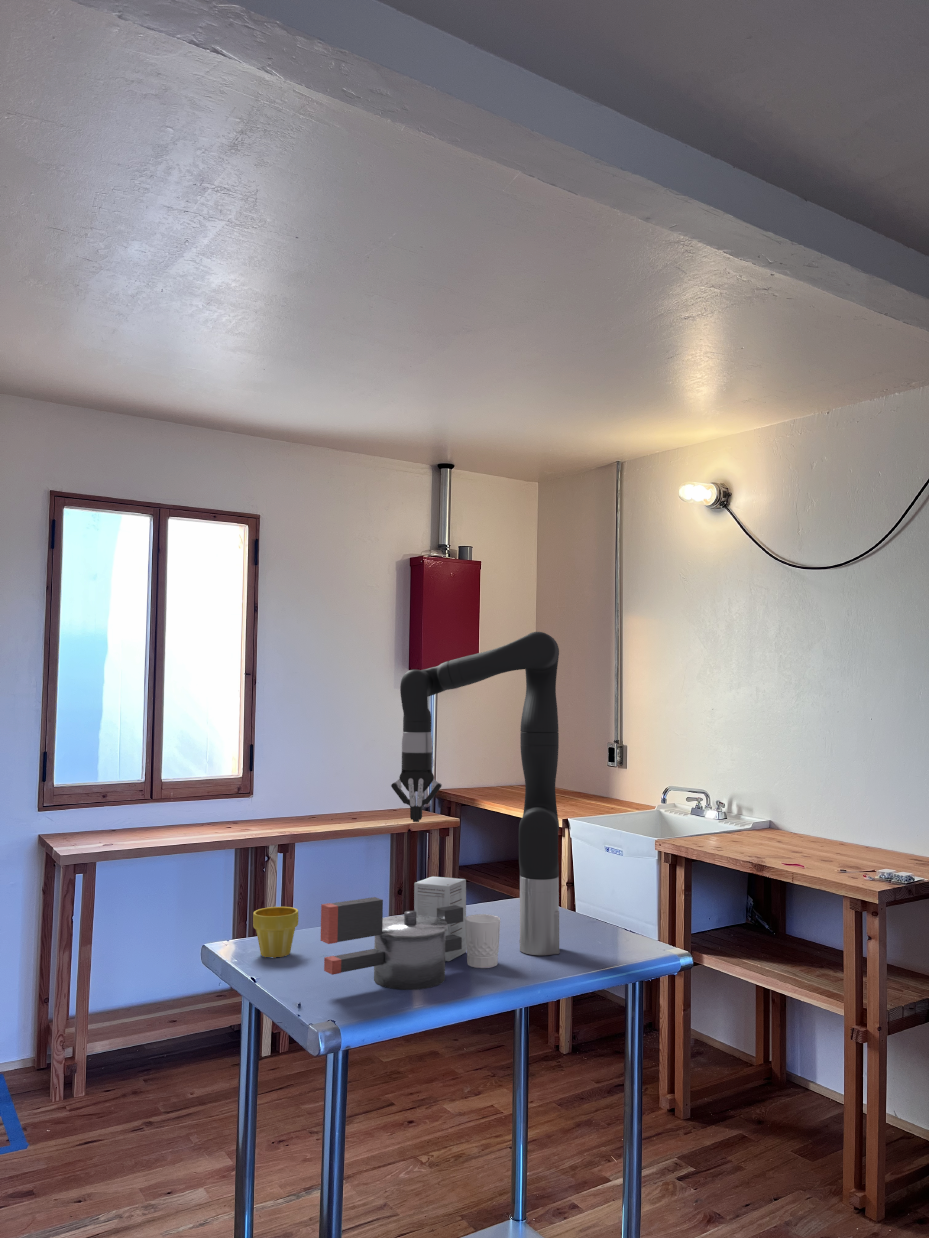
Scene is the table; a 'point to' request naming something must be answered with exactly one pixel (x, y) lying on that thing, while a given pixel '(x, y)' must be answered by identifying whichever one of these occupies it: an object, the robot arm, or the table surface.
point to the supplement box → (442, 904)
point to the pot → (400, 961)
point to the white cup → (482, 940)
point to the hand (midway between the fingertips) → (416, 821)
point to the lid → (380, 921)
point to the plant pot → (275, 930)
